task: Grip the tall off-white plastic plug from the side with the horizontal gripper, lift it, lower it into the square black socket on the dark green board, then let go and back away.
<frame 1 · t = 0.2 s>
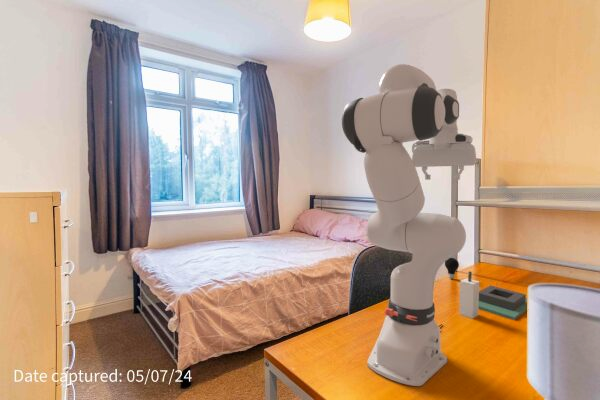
hand: (442, 179, 106), 47 cm above the table, tool pointing down, fingers open, 8 cm apart
light bulb: (451, 279, 143), on the table
board: (500, 303, 115), on the table
plug: (468, 314, 107), on the table
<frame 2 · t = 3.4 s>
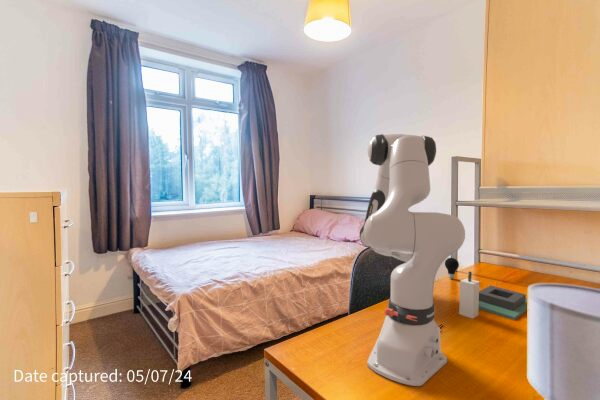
hand: (436, 256, 115), 18 cm above the table, tool horizontal, fingers open, 8 cm apart
nothing on the table moved.
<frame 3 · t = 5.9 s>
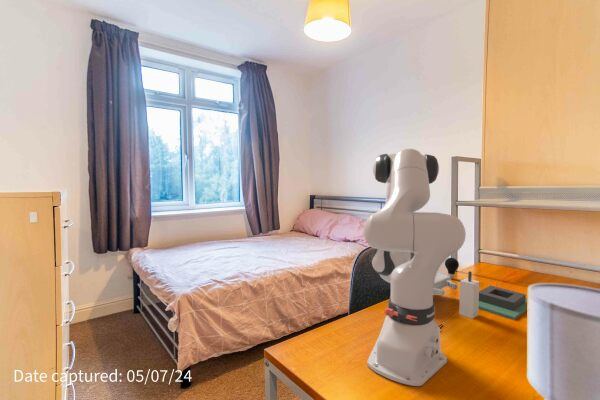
hand: (450, 289, 111), 7 cm above the table, tool horizontal, fingers open, 8 cm apart
nothing on the table moved.
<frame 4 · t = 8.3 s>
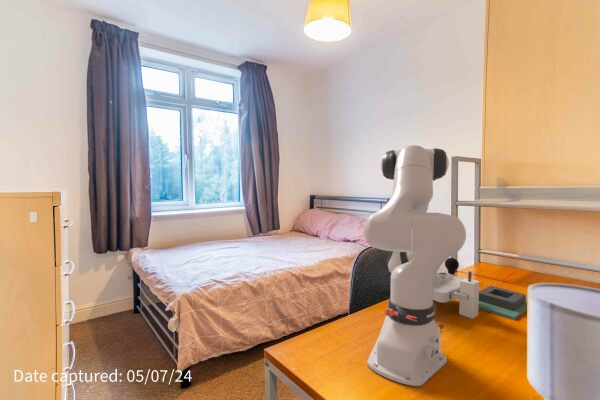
hand: (471, 295, 105), 7 cm above the table, tool horizontal, fingers closed on plug, 4 cm apart
plug: (468, 314, 107), on the table, touching gripper
everything else where it was.
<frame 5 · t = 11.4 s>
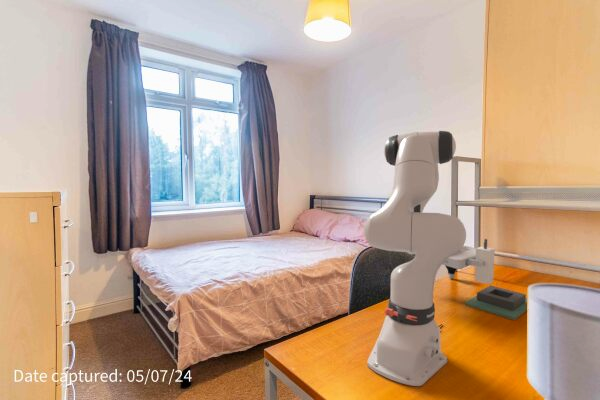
hand: (487, 262, 109), 17 cm above the table, tool horizontal, fingers closed on plug, 4 cm apart
plug: (484, 281, 110), point 10 cm above the table, touching gripper
everything else where it was.
when the fingers open (9 cm above the table, at t = 14.4 s): plug drops 1 cm, resting on board.
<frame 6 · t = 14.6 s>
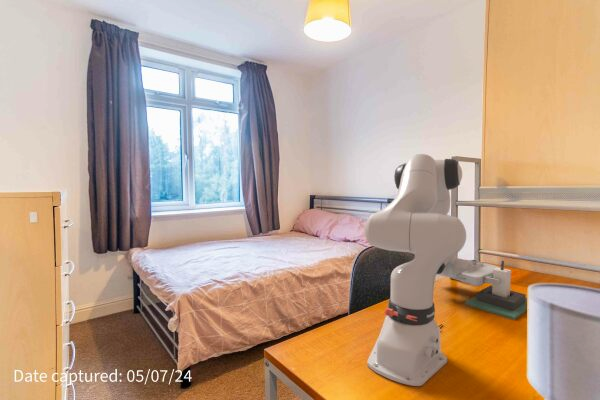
hand: (504, 279, 114), 9 cm above the table, tool horizontal, fingers open, 6 cm apart
plug: (500, 301, 115), point 1 cm above the table, touching board
everything else where it was.
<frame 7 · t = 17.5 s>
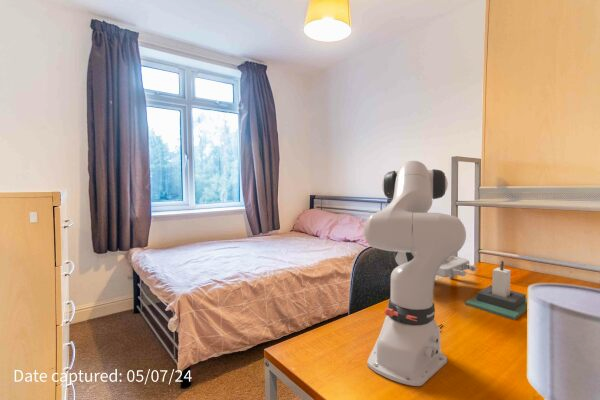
hand: (470, 271, 123), 10 cm above the table, tool horizontal, fingers open, 8 cm apart
nothing on the table moved.
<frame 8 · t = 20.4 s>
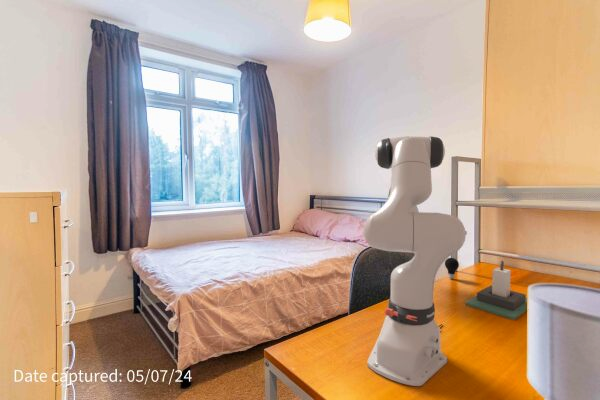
hand: (460, 234, 121), 25 cm above the table, tool horizontal, fingers open, 8 cm apart
nothing on the table moved.
at the end: plug 0.1 cm off-centre on the board, point 1.0 cm above the board's base; plug tilted 0°; the gripper is holding nothing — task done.
